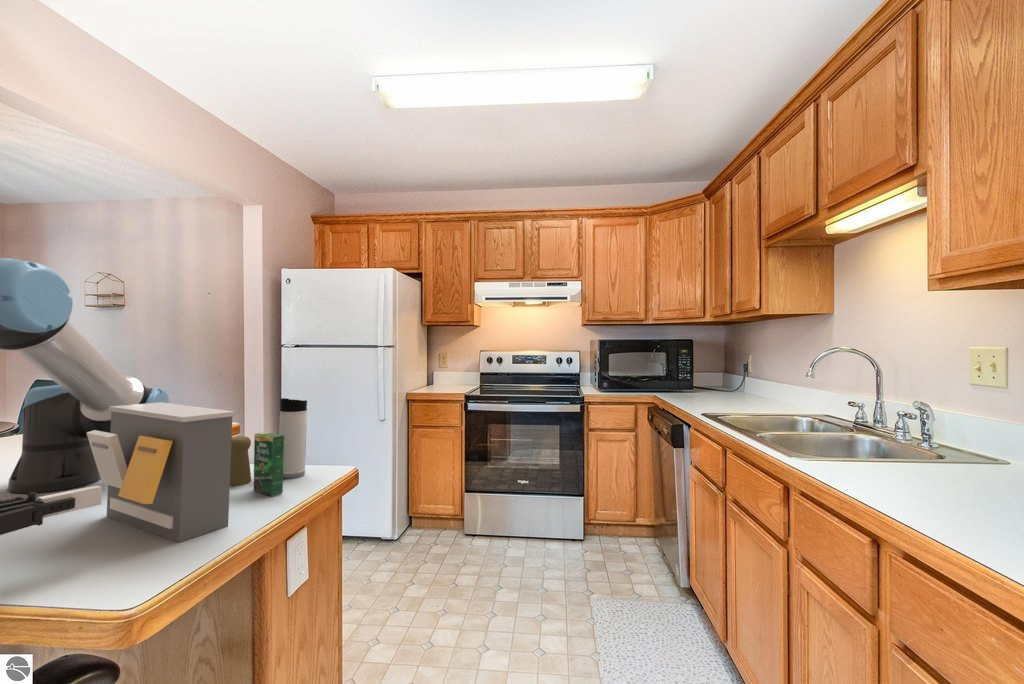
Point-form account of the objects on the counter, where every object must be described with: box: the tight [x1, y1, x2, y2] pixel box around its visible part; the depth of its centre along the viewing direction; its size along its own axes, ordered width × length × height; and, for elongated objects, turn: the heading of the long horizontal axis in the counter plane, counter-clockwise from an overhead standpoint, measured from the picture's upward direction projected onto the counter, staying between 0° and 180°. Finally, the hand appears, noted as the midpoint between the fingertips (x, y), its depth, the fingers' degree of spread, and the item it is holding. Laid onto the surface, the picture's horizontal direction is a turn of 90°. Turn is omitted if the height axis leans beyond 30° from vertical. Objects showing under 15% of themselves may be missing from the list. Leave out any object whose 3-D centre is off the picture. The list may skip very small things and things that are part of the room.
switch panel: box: [106, 402, 236, 543], centre depth 81 cm, size 9×25×21 cm, turn 64°
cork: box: [230, 435, 252, 487], centre depth 105 cm, size 6×6×11 cm
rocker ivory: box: [87, 430, 127, 489], centre depth 78 cm, size 2×8×10 cm, turn 64°
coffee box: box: [253, 431, 284, 497], centre depth 99 cm, size 8×3×13 cm, turn 57°
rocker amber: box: [118, 435, 173, 504], centre depth 73 cm, size 1×8×10 cm, turn 64°
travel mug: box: [278, 397, 308, 480], centre depth 112 cm, size 6×7×20 cm
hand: (98, 494), depth 67 cm, fingers closed
